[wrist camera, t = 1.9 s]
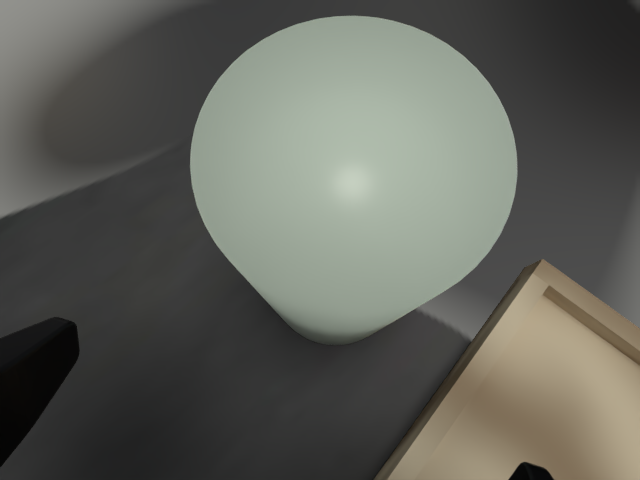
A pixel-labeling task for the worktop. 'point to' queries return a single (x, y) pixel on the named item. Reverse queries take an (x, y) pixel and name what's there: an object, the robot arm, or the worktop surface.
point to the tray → (534, 393)
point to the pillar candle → (352, 172)
